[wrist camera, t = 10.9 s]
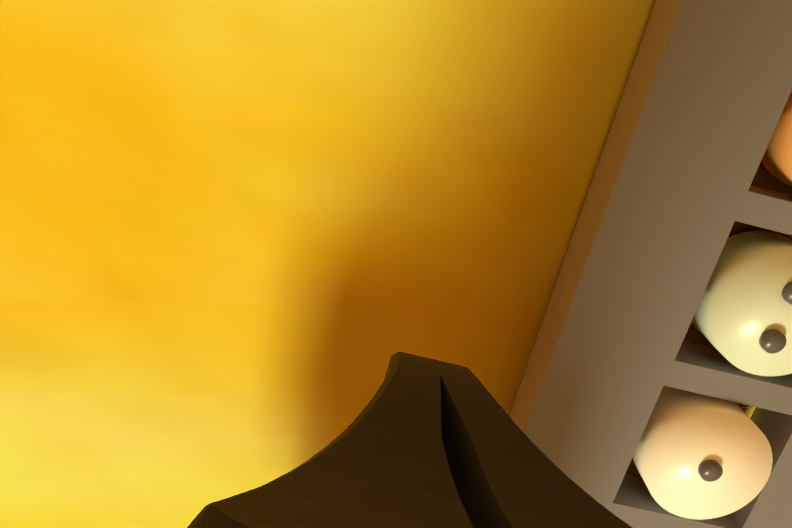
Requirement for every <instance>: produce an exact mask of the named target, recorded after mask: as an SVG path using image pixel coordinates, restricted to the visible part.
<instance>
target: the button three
mask: <svg viewBox="0 0 792 528" xmlns="http://www.w3.org/2000/svg"><path fill="white" fill-rule="evenodd" d="M761 161H762V163H763V165H764V166H765V167H766V169H767V170H768V171H769V172H770V173H771V174H772V175H773V176H774V177H775V178H776V179H778V180H779V181H781V182H783V183H785V184H787V185H789V186H792V91H791V93H790V95H789V98H788V100H787V102H786V105H785V107H784V109H783V112H782V114H781V116H780V118H779V121H778V123H777V125H776V128H775V130H774V132H773V135H772V137H771V139H770V142H769V144H768V146H767V148H766V151H765V153H764V155H763V158H762V160H761Z"/></svg>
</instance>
